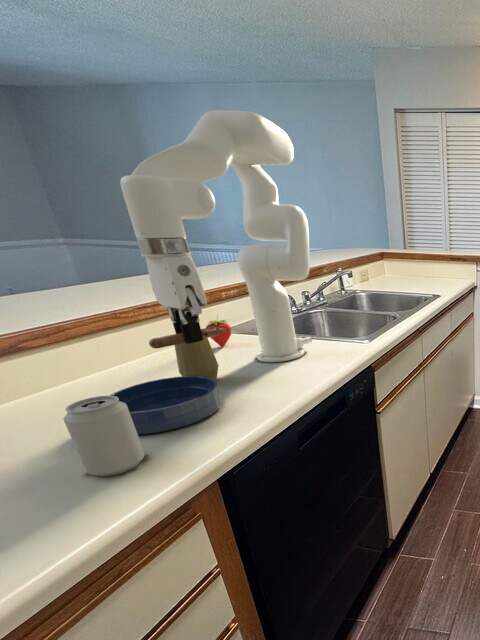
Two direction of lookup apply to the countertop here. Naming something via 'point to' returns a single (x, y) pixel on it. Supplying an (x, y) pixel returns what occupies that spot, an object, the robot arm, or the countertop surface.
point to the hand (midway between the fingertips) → (190, 340)
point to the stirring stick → (179, 337)
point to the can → (104, 435)
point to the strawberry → (222, 337)
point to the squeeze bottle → (196, 359)
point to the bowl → (170, 402)
